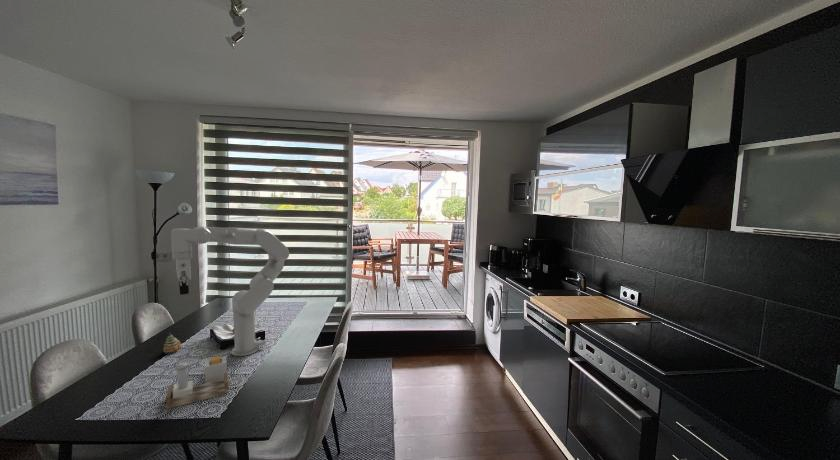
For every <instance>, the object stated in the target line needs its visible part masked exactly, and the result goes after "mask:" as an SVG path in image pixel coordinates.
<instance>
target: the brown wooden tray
mask: <svg viewBox="0 0 840 460" xmlns="http://www.w3.org/2000/svg"><path fill="white" fill-rule="evenodd" d="M173 390H174V387H173V385H168V387H167V391H166V395H165V404H166V410H169V409H172V408H177V407H180V406H184V405H187V404H192V403H195V402H199V401H202V400H207V399H211V398H214V397H217V396H221V395H225V394H229V379H228V372H227V373H224V379H222V380H218V381H214V382H210V383H206V384H205V383H202V384H198V385H193V392H192V394H189V395H185V396H181V397H177V398H173Z"/></svg>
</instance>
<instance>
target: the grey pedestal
mask: <svg viewBox="0 0 840 460" xmlns="http://www.w3.org/2000/svg"><path fill="white" fill-rule="evenodd" d="M174 367H175V370H176V376H177V378H176V379H177V384H176V383H175V384H174V386H173V398H177V397H181V396H185V395H189V394H192V392H193V386H194V380H193V379H192V380H189V378H188V377H189V376H188V367H189V362H187V361H183V362H179V363H177V364H176V365H175V366H174Z"/></svg>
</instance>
